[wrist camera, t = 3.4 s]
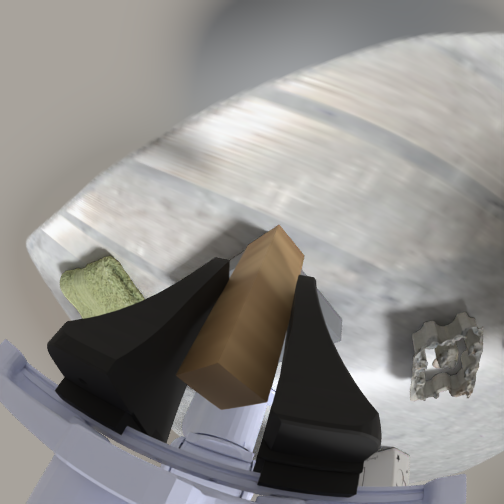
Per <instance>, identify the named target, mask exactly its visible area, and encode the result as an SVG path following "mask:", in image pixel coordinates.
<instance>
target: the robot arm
mask: <svg viewBox="0 0 504 504" xmlns="http://www.w3.org/2000/svg"><path fill="white" fill-rule="evenodd" d="M229 270H230V260H225V259H220V258H214V259H213V260H211V261H210V262H208V263H207V264H205V265H204V266H202V267H201V268H199V269H198V270H196V271H195V272H193V273H191V274H190V275H188V276H187V277H185V278H184V279H182V280H181V281H179V282H177V283H175V284H174V285H172V286H170V287H168V288H167V289H165V290H163V291H161V292H159V293H158V294H156V295H154V296H151V297H149V298H147V299H145V300H143V301H140V302H138V303H135V304H133V305H130V306H127V307H125V308H122V309H119V310H116V311H113V312H110V313H106V314H102V315H98V316H94V317H90V318H84V319H79V320H73V321H67V322H66V323H65V324H64V325H63V326H62V328H60V330H59V331H58V332H57V333H56V334H55V335H54V336H53V337H52V339H51V340H50V341H49V342H48V344H47V349H48V352H49V354H50V356H51V357H52V359H53V360H54V362H55V364H56V365H57V367H58V368H59V370H60V371H61V373H62V374H63V375H64V379H63V380H62V381H61V383H60V384H59V385H57V384H56V383H54V382H53V381H52V380H50V379H49V378H47V377H46V376H45V375H43V374H42V373H41V372H39V371H38V370H37V369H35V368H34V367H33V366H31V365H30V364H29V363H28V362H27V360H26V359H25V357H24V356H23V354H22V353H21V352H20V351H19V350H18V349H17V348H16V347H15V346H14V345H13V344H11V343H10V342H9V341H8V340H7V339H5V340H4V341H3V342H2V343H1V344H0V402H1V403H2V404H3V405H4V406H5V407H6V408H7V409H8V410H9V411H10V412H11V413H12V415H13V416H14V417H15V418H17V420H18V421H20V422H21V423H22V424H23V425H24V426H25V427H26V428H27V429H28V430H29V431H30V432H31V433H32V434H34V435H35V436H36V437H37V438H38V439H39V440H40V441H41V442H43V443H44V444H45V445H46V446H47V447H49V448H50V449H51V450H52V451H53V452H54V454H55V455H54V457H53V458H52V460H51V462H50V463H49V465H48V467H47V468H46V470H45V471H44V473H43V475H42V477H41V478H40V480H39V482H38V484H37V485H36V487H35V488H34V490H33V492H32V493H31V495H30V497H29V499H28V501H27V502H26V504H466V475H465V474H460V475H454V476H447V477H441V478H437V479H434V480H431V481H429V482H428V483H426V484H425V485H414V486H392V487H367V486H358V481H359V474H361V473H362V471H363V466H364V461H365V460H366V459H368V458H369V457H370V456H372V455H373V454H374V453H375V452H377V451H378V449H379V448H380V447H381V424H380V418H379V413H378V412H377V411H376V410H375V408H374V407H373V406H372V405H371V403H370V402H369V401H368V400H367V398H366V397H365V396H364V395H363V393H362V392H361V390H360V389H359V387H358V386H357V385H356V383H355V382H354V380H353V378H352V377H351V375H350V373H349V372H348V370H347V368H346V367H345V365H344V363H343V361H342V360H341V358H340V356H339V354H338V352H337V350H336V347H335V345H334V343H333V341H332V339H331V336H330V334H329V331H328V328H327V326H326V323H325V320H324V317H323V313H322V310H321V306H320V303H319V298H318V293H317V287H316V280H315V278H314V277H309V276H304V275H299V276H298V279H297V283H296V288H295V293H294V298H293V303H292V308H291V315H290V320H289V324H288V328H287V333H286V339H285V346H284V353H283V360H282V366H281V373H280V378H279V381H278V385H277V389H276V392H275V391H273V390H272V389H271V391H270V394H269V398H268V401H267V402H266V403H261V404H255V405H249V406H244V407H237V408H231V409H224V410H220V409H219V408H218V407H216V406H215V405H213V404H212V403H211V402H209V401H208V400H207V399H205V398H204V397H203V396H201V395H200V394H199V393H197V392H196V393H195V395H194V397H193V399H192V401H191V403H190V406H189V408H188V410H187V412H186V414H185V416H184V418H183V422H182V430H183V434H184V436H185V437H183V436H181V437H179V438H176V439H174V440H173V442H172V443H171V445H169V444H166V443H167V439H168V437H169V434H170V430H171V427H172V424H173V421H174V418H175V416H176V413H177V410H178V407H179V405H180V402H181V399H182V397H183V394H184V392H185V389H186V386H187V384H186V383H184V382H183V381H182V380H181V379H179V378H178V377H177V376H176V374H177V372H178V370H179V368H180V366H181V365H182V363H183V361H184V359H185V357H186V356H187V354H188V352H189V350H190V348H191V347H192V345H193V343H194V341H195V339H196V338H197V336H198V334H199V332H200V330H201V329H202V327H203V325H204V323H205V321H206V320H207V318H208V316H209V314H210V312H211V311H212V309H213V307H214V305H215V303H216V302H217V300H218V298H219V297H220V295H221V293H222V292H223V290H224V288H225V286H226V285H227V283H228V281H229ZM268 405H272V406H271V410H270V413H269V417H268V421H267V425H266V428H265V432H264V435H263V439H262V442H261V446H260V449H259V452H258V455H257V458H256V461H255V460H253V456H254V453H252V452H253V449H254V446H255V443H256V440H257V437H258V433H259V430H260V427H261V424H262V420H263V417H264V414H265V410H266V407H267V406H268ZM96 430H97V431H96ZM99 432H100V433H99ZM101 433H102V434H103V435H105V436H107V437H109V438H111V439H112V440H114V441H116V442H118V443H120V444H122V445H124V446H126V447H127V448H129V449H132V450H133V451H136V452H138V453H140V454H142V455H144V456H146V457H148V458H150V459H153V460H155V461H157V462H159V463H161V467H157V466H155V465H153V464H151V463H149V462H146V461H144V460H142V459H140V458H138V457H136V456H134V455H132V454H130V453H128V452H126V451H124V450H122V449H120V448H118V447H116V446H115V445H113V444H111V443H110V441H109V440H108V439H107V438H106V437H105V436H103V435H102V434H101ZM253 493H255V494H259V495H263V496H258V497H257V499H256V501H255V502H253V501H250V500H251V497H252V496H253Z"/></svg>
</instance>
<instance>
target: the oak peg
mask: <svg viewBox="0 0 504 504" xmlns="http://www.w3.org/2000/svg"><path fill="white" fill-rule="evenodd" d="M303 260H304V255H303V253H302V252H301V251H300V250H299V248H298V247H297V246H296V245H295V243H294V242H293V241H292V240H291V238H290V237H289V236H288V235H287V234H286V232H285V231H284V230H283V229H282V227H281V226H280V225H278V226H276V227H275V228H273V229H272V230H270V231H269V232H267V233H266V234H264V235H263V236H261V237H259V238H258V239H256V240H255V241H253V242H252V243H250V244H249V245H248V246H247V248H246V250H245V252H244V253H243V255H242V257H241V259H240V261H239V262H238V264H237V266H236V268H235V269H234V271H233V273H232V275H231V277H230V278H229V281H228V283H227V285H226V286H225V288H224V290H223V292H222V293H221V295H220V297H219V298H218V300H217V302H216V303H215V305H214V307H213V309H212V311H211V312H210V314H209V316H208V318H207V320H206V321H205V323H204V325H203V327H202V329H201V330H200V332H199V334H198V336H197V338H196V339H195V341H194V343H193V345H192V347H191V348H190V350H189V352H188V354H187V356H186V357H185V359H184V361H183V363H182V365H181V366H180V368H179V370H178V372H177V374H176V376H177V377H178V378H179V379H181V380H182V381H183V382H184V383H186V384H187V385H188V386H190V387H191V388H192V389H193V390H195V391H196V392H197V393H199V394H200V395H201V396H203V397H204V398H205V399H207V400H208V401H209V402H211V403H212V404H213V405H215V406H216V407H218V408H219V409H220V410H224V409H231V408H237V407H244V406H249V405H255V404H261V403H266V402H267V401H268V398H269V394H270V391H271V387H272V384H273V380H274V377H275V373H276V370H277V366H278V362H279V359H280V355H281V351H282V347H283V344H284V340H285V336H286V332H287V328H288V324H289V320H290V315H291V308H292V303H293V298H294V293H295V288H296V283H297V279H298V276H299V275H300V274H301V269H302V265H303Z"/></svg>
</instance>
